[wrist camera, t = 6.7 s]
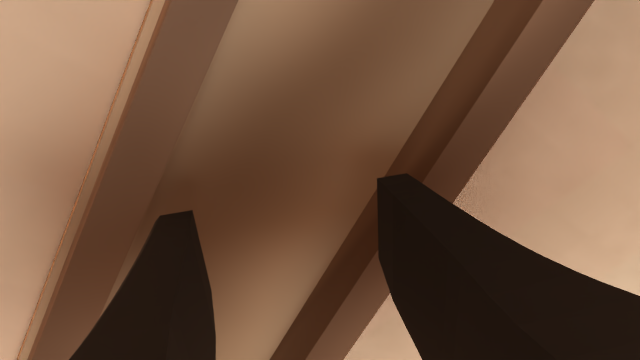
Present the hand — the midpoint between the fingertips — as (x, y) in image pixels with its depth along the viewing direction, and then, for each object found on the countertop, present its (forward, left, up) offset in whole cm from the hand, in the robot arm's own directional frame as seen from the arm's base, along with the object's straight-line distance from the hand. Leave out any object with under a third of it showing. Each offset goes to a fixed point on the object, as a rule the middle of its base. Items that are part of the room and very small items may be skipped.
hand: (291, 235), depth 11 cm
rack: (0, 0, -3) cm, 3 cm away
